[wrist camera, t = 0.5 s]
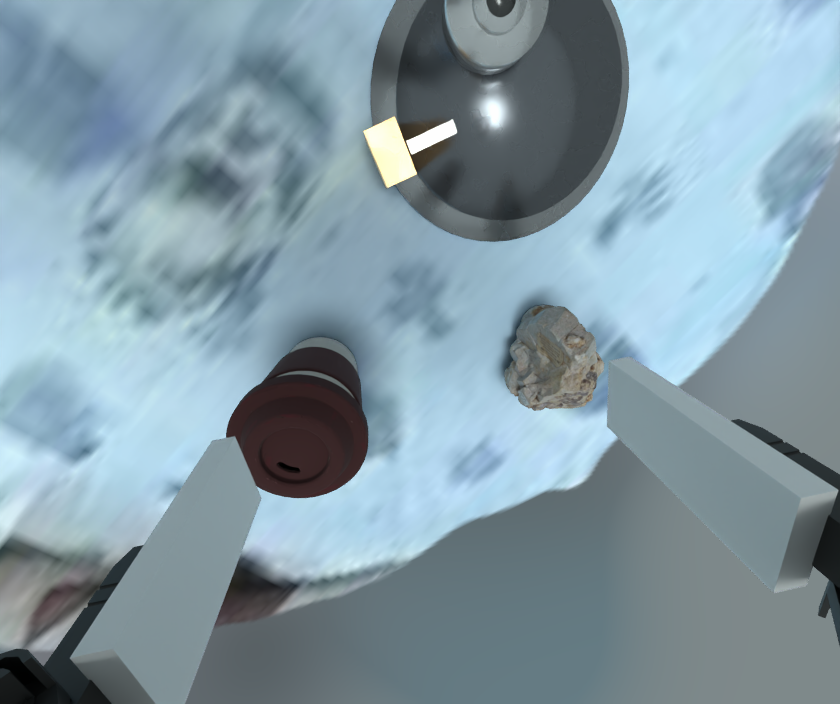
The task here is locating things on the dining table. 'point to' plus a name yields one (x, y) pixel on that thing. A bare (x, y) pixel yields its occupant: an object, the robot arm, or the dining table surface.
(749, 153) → the dining table surface
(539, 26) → the cover
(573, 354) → the rock
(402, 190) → the turntable base
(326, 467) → the coffee cup
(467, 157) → the turntable
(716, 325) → the dining table surface
